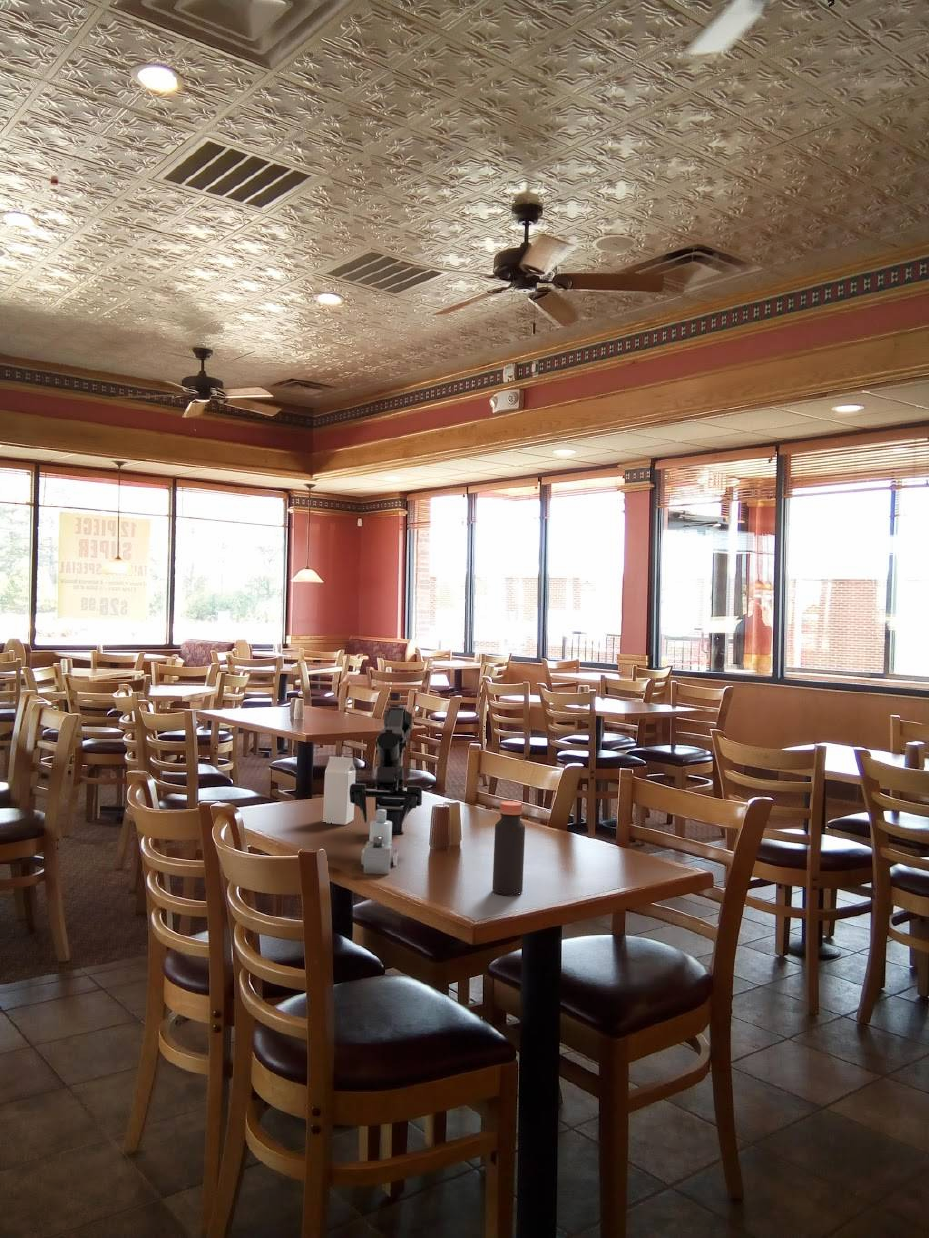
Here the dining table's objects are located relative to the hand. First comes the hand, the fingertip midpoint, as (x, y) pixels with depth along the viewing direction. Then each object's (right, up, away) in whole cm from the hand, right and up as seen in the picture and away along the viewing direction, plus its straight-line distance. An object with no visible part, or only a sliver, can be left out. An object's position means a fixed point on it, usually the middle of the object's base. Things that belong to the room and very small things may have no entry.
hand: (383, 822), depth 244 cm
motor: (0, -8, -12) cm, 15 cm away
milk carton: (-16, -8, +36) cm, 41 cm away
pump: (0, -8, -8) cm, 11 cm away
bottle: (+30, -10, -29) cm, 43 cm away
